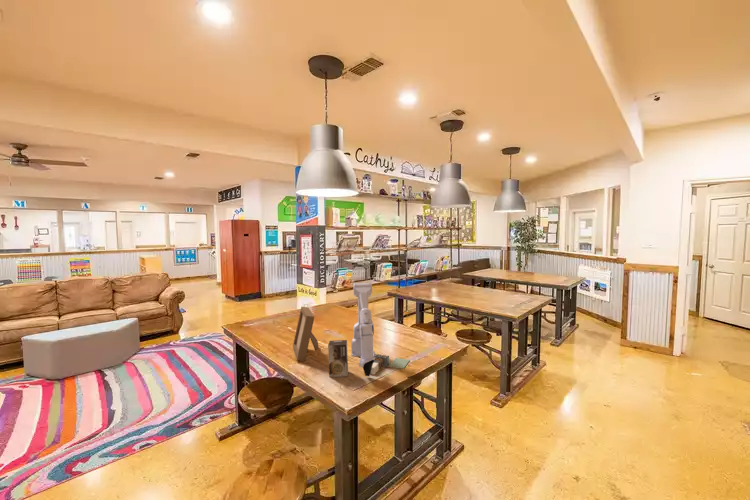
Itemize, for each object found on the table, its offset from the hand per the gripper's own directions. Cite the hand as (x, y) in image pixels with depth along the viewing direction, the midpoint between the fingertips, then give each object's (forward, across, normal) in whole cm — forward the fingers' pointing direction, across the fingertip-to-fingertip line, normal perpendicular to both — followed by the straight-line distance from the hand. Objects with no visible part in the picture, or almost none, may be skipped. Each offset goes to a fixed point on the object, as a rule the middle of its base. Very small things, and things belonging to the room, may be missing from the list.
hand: (367, 375), depth 152 cm
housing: (+1, +15, 0) cm, 15 cm away
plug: (+1, +8, 0) cm, 8 cm away
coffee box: (+1, -2, +15) cm, 15 cm away
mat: (+1, +20, -10) cm, 23 cm away
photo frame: (+1, +15, +45) cm, 48 cm away
